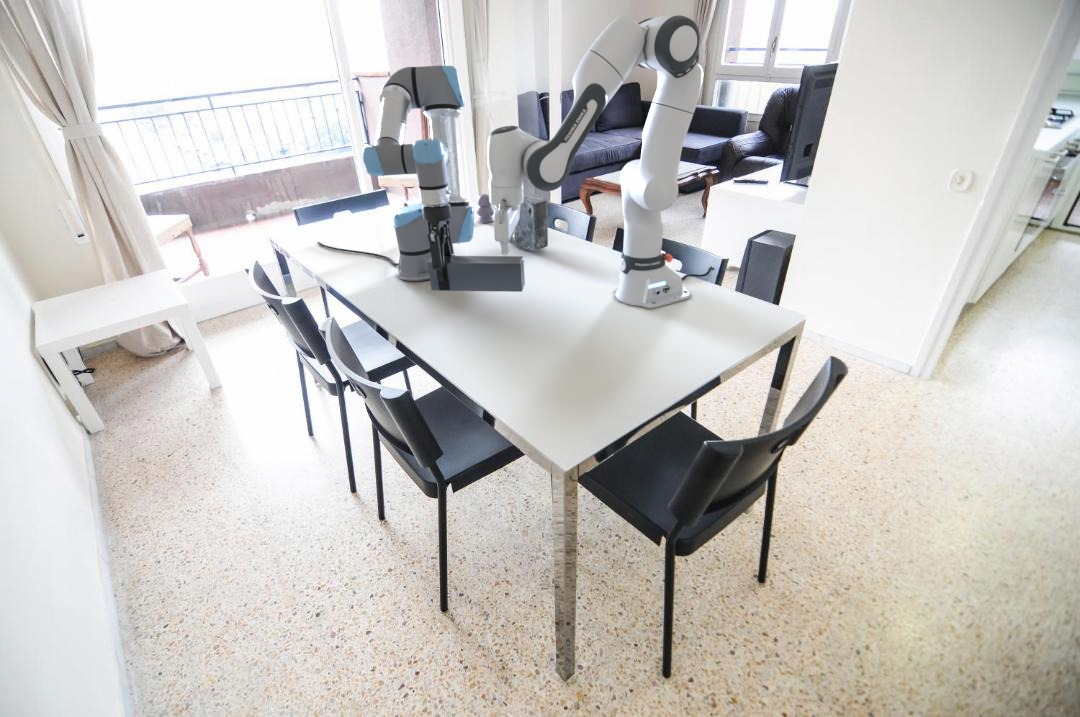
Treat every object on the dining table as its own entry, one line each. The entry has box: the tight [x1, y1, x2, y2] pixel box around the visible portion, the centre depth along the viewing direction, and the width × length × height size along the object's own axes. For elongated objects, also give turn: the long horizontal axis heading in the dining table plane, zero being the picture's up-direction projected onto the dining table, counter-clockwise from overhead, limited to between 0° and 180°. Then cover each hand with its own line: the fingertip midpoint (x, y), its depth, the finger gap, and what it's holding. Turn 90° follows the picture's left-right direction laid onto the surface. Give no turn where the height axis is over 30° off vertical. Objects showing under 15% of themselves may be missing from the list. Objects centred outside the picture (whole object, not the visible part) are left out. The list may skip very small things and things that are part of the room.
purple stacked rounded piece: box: [476, 193, 495, 224], centre depth 226 cm, size 8×8×12 cm
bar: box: [427, 255, 526, 293], centre depth 140 cm, size 26×6×8 cm, turn 84°
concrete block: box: [510, 191, 549, 252], centre depth 191 cm, size 27×9×20 cm, turn 36°
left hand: (447, 285), depth 143 cm, fingers closed on bar, 6 cm apart
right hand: (508, 247), depth 135 cm, fingers open, 8 cm apart
